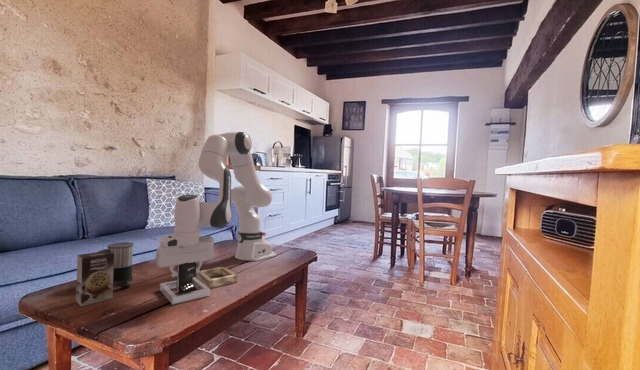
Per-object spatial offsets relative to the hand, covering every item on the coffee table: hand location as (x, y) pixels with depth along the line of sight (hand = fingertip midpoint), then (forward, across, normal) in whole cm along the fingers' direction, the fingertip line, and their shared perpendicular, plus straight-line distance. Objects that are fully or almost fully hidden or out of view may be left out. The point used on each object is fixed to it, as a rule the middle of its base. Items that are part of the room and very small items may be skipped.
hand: (185, 274), depth 111 cm
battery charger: (+6, 0, 0) cm, 6 cm away
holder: (+7, 0, 0) cm, 7 cm away
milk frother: (+7, +17, -24) cm, 30 cm away
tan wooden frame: (+7, -15, -6) cm, 17 cm away
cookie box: (+7, +26, -11) cm, 29 cm away
